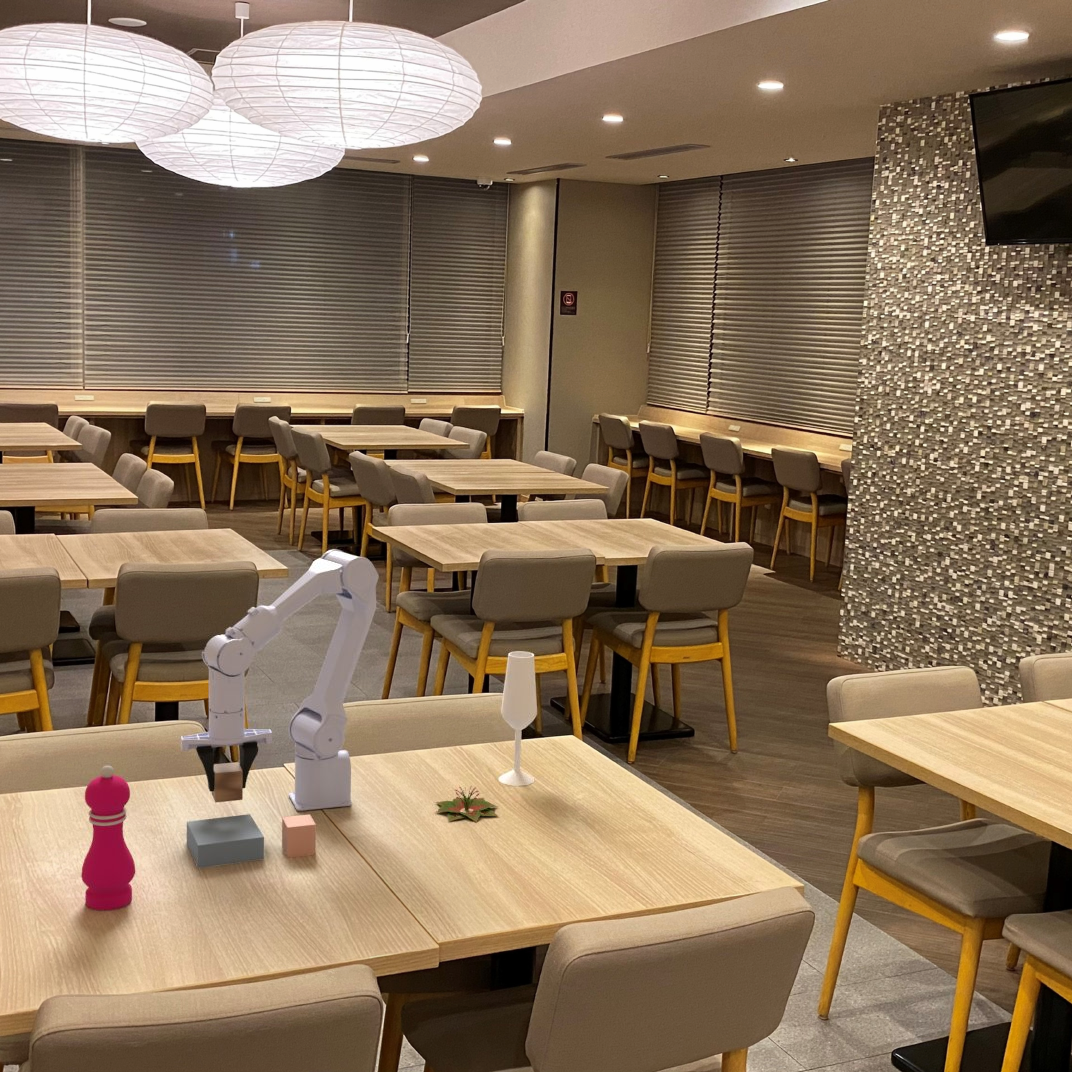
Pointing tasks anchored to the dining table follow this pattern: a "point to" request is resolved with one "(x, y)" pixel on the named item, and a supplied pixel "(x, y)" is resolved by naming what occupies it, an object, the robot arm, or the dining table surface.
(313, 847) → the terracotta block
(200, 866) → the base block
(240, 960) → the dining table surface
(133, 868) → the pepper mill
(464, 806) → the lily flower
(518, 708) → the champagne flute
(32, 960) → the dining table surface
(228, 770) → the walnut block
